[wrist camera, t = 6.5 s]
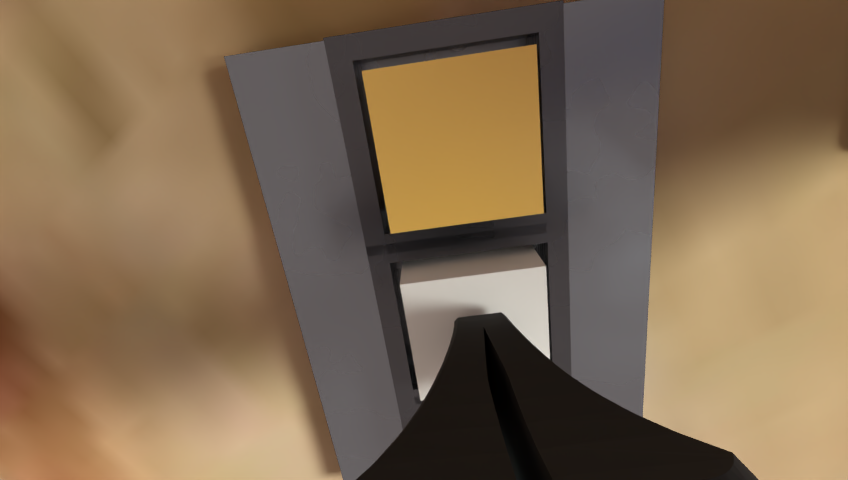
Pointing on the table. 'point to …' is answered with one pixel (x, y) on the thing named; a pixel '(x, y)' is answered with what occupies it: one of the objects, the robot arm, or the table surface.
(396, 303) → the button panel
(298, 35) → the table surface
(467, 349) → the robot arm
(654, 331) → the table surface
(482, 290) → the cream button
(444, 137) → the amber button
